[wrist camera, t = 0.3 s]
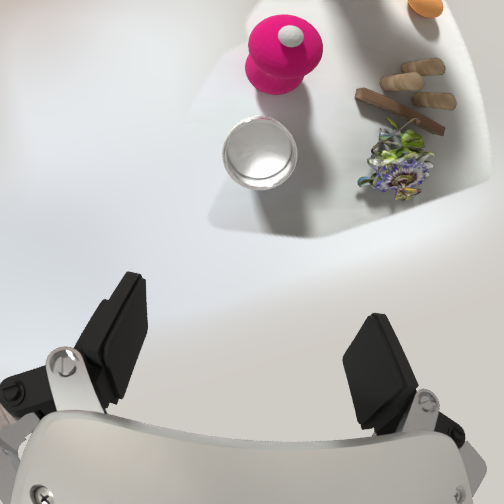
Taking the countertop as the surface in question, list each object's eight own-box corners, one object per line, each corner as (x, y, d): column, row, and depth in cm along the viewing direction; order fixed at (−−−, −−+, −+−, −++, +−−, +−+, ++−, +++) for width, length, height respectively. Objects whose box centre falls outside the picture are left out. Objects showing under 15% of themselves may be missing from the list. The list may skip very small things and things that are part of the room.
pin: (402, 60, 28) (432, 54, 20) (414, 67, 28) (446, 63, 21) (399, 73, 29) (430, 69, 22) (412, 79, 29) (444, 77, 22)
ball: (401, -14, 20) (419, -25, 15) (431, 3, 21) (450, -4, 15) (399, 9, 23) (417, 0, 18) (429, 27, 24) (449, 21, 18)
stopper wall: (356, 88, 31) (364, 87, 28) (434, 125, 32) (445, 127, 30) (354, 97, 32) (362, 97, 29) (432, 133, 33) (443, 136, 31)
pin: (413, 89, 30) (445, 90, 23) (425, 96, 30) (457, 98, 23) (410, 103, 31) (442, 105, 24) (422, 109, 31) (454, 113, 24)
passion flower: (370, 168, 42) (356, 208, 36) (360, 109, 36) (343, 136, 29) (432, 172, 36) (433, 215, 29) (429, 110, 29) (434, 138, 23)
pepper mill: (263, 41, 28) (272, -22, 11) (309, 66, 30) (361, 28, 13) (236, 80, 31) (217, 48, 14) (281, 106, 33) (311, 99, 16)
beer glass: (225, 124, 34) (207, 132, 21) (273, 108, 33) (285, 105, 20) (242, 169, 38) (236, 202, 25) (289, 154, 36) (309, 179, 23)
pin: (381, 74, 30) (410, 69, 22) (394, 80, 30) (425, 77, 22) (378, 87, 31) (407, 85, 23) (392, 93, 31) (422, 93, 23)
